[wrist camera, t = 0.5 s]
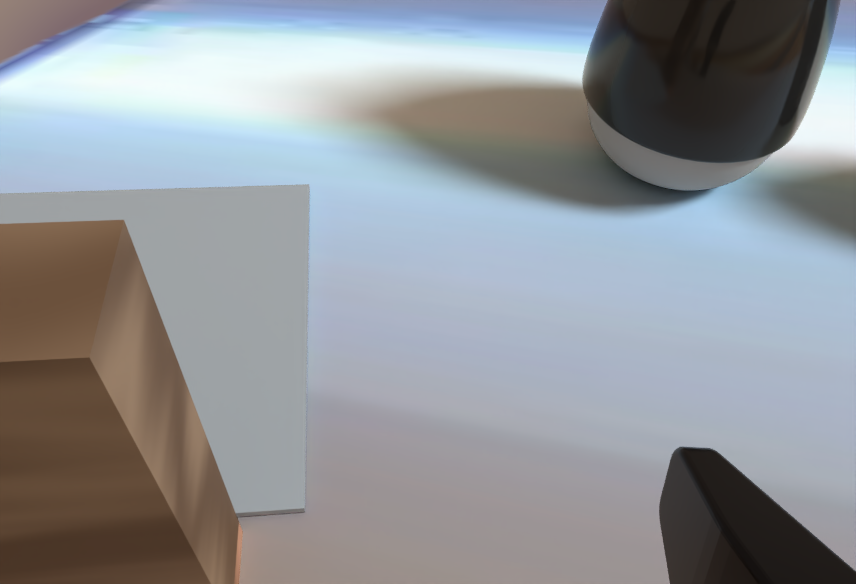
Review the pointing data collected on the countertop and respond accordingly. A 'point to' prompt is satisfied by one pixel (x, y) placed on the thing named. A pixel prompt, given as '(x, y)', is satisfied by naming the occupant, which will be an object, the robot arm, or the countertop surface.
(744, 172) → the black white egg shape
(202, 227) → the mat
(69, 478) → the walnut slab
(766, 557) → the robot arm
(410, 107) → the countertop surface
